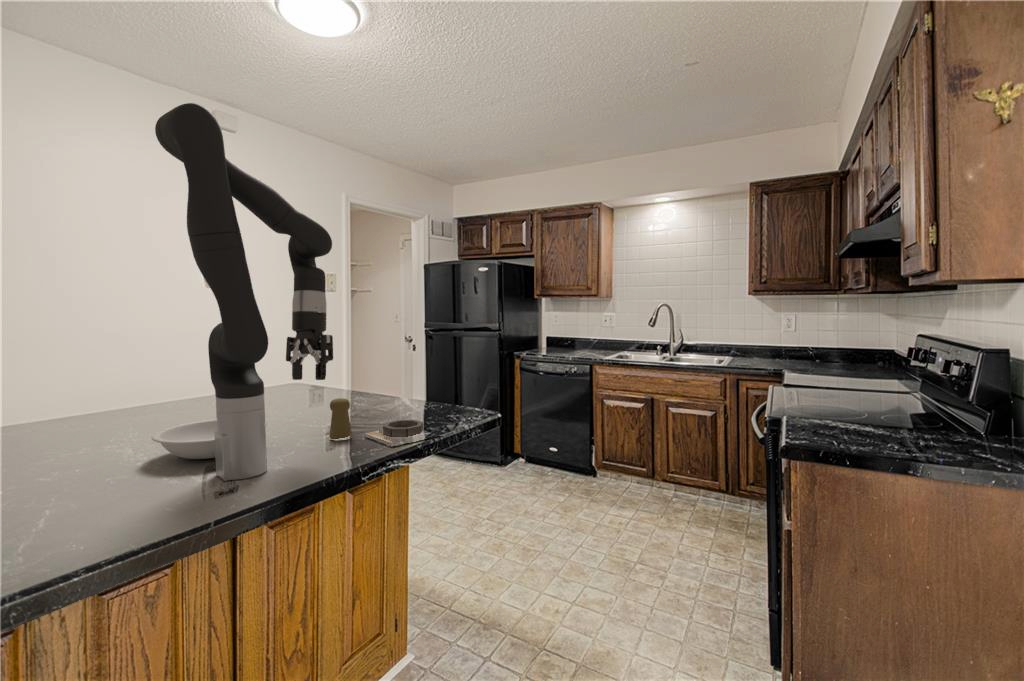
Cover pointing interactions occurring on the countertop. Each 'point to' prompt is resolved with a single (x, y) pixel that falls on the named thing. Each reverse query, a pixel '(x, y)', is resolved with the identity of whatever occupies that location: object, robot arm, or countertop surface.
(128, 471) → the countertop surface
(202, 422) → the soup bowl
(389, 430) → the socket board
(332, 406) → the cork
